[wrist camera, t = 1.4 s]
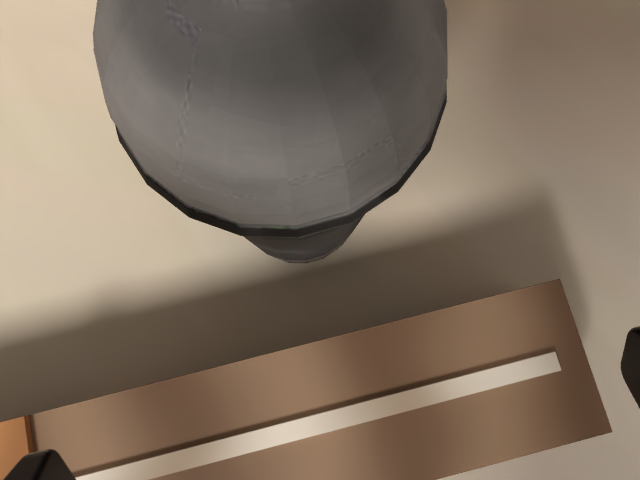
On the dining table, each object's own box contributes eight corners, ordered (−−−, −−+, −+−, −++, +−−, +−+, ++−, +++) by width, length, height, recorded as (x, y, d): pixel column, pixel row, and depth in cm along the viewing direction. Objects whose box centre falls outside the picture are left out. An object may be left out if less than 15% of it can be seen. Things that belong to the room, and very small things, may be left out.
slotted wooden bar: (518, 292, 22) (563, 277, 18) (559, 417, 21) (617, 433, 17) (-129, 458, 21) (-242, 484, 17) (-118, 599, 20) (-234, 663, 16)
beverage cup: (305, 96, 24) (222, -1038, 4) (424, 213, 23) (1008, -611, 3) (177, 206, 23) (-641, -623, 4) (295, 335, 22) (57, 172, 2)
